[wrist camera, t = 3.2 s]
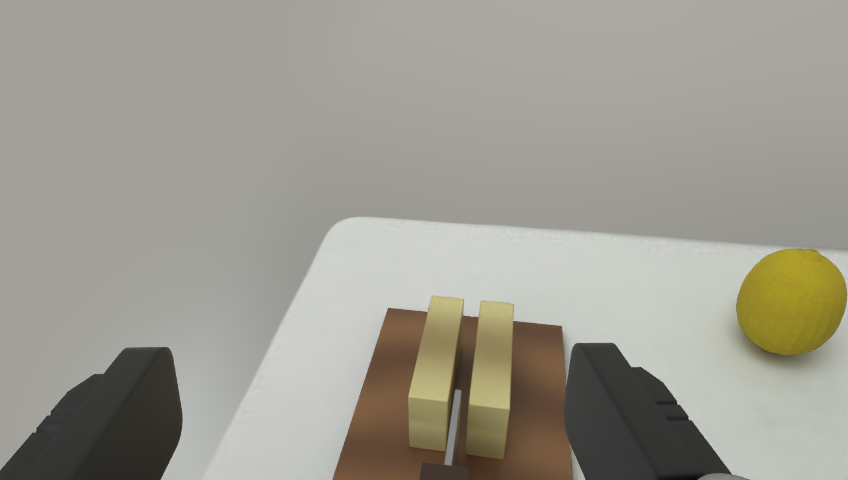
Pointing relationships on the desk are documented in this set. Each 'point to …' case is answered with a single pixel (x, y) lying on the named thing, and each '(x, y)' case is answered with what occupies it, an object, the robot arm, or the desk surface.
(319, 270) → the desk surface
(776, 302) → the lemon
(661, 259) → the desk surface
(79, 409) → the robot arm
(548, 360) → the butter board
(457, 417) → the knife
